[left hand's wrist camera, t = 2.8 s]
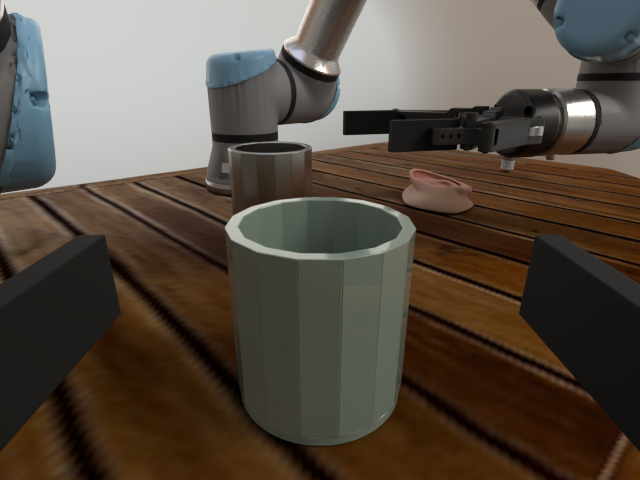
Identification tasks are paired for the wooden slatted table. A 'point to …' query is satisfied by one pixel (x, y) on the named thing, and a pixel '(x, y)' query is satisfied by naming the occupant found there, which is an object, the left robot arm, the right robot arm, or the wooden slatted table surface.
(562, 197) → the wooden slatted table surface
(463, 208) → the anatomical model
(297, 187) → the tumbler
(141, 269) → the wooden slatted table surface
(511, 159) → the light bulb
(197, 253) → the wooden slatted table surface
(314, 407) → the pot
